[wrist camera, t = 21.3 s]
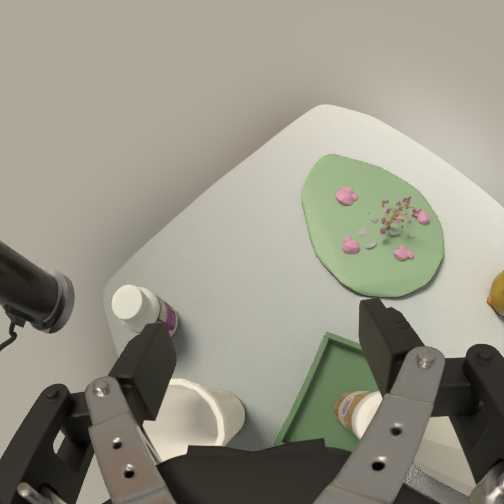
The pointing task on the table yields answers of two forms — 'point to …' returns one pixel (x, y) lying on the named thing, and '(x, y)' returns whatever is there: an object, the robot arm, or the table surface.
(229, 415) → the cup
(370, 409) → the sprinkles bottle
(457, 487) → the container
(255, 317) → the table surface
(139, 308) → the pill bottle
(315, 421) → the green tray
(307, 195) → the plant
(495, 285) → the mug
